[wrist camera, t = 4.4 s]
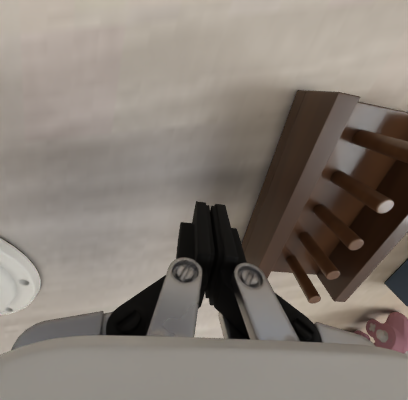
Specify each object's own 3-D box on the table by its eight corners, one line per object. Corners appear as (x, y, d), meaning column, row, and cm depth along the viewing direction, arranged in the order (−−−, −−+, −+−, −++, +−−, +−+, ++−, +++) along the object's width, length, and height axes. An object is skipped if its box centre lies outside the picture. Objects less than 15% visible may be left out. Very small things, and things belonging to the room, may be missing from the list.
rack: (235, 259, 21) (248, 311, 16) (297, 89, 13) (359, 93, 8) (319, 266, 22) (355, 316, 17) (422, 117, 14) (538, 133, 9)
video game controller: (375, 297, 29) (397, 344, 23) (409, 313, 28) (442, 367, 22) (335, 331, 33) (345, 378, 28) (364, 346, 32) (380, 398, 27)
